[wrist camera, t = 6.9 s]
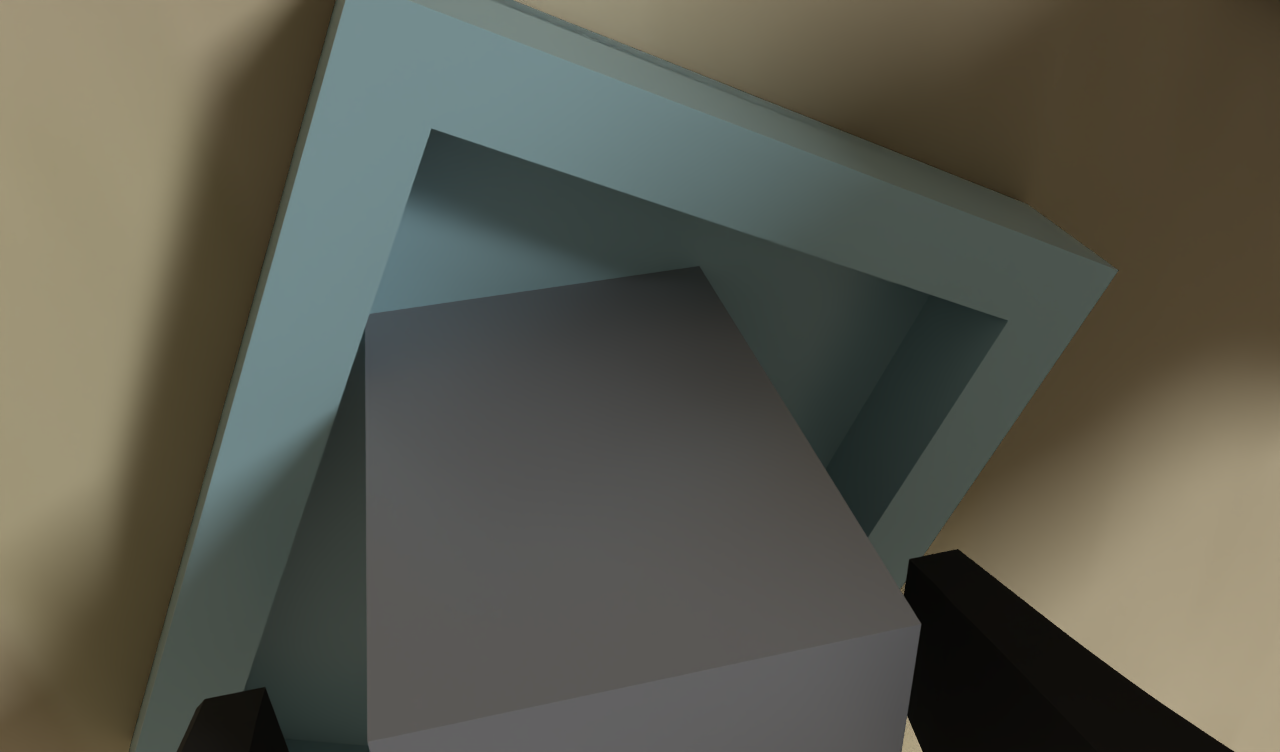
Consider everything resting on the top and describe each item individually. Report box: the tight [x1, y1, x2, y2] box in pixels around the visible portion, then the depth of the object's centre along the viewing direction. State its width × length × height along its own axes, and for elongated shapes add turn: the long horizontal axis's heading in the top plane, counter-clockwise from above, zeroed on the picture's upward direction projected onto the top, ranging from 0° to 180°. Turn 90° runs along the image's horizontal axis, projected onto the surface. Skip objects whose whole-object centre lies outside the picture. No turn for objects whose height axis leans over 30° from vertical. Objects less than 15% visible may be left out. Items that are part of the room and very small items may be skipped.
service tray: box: [129, 0, 1119, 752], centre depth 14 cm, size 9×12×2 cm
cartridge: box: [365, 266, 921, 752], centre depth 12 cm, size 4×7×6 cm, turn 3°
